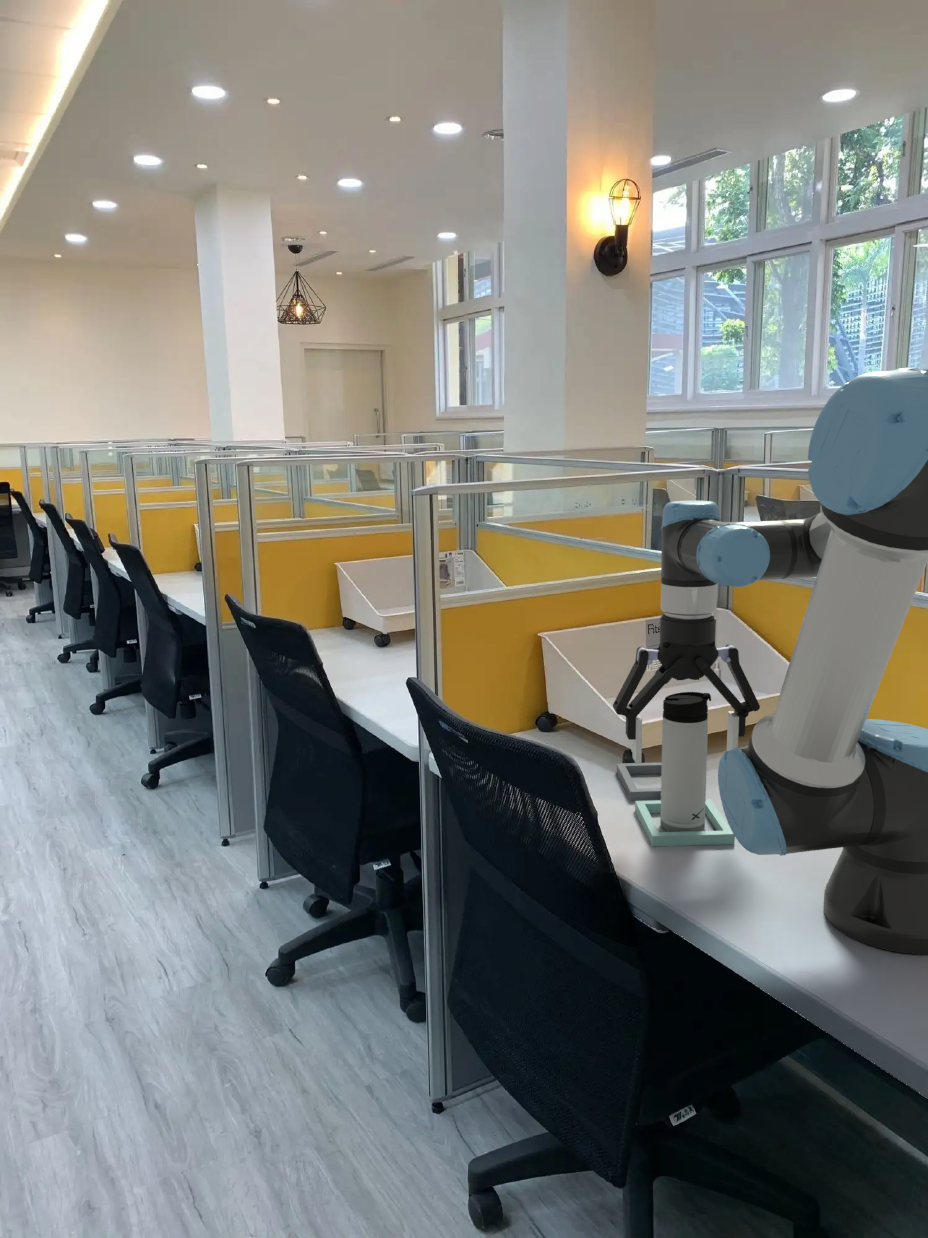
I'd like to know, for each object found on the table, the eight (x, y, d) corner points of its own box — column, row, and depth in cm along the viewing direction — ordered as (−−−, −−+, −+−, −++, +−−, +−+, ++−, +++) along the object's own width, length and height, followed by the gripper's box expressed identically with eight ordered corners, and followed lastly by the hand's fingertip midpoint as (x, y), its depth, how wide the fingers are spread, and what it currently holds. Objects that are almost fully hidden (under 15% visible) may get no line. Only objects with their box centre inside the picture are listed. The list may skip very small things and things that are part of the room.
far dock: (710, 808, 140) (710, 799, 140) (635, 810, 140) (635, 801, 140) (684, 770, 156) (684, 761, 156) (616, 772, 156) (616, 763, 156)
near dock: (734, 844, 128) (734, 834, 128) (652, 846, 128) (652, 836, 128) (710, 808, 140) (710, 799, 140) (635, 810, 140) (635, 801, 140)
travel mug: (708, 837, 131) (712, 701, 127) (660, 834, 132) (663, 699, 128) (706, 819, 137) (710, 688, 133) (660, 816, 138) (662, 687, 134)
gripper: (768, 606, 132) (762, 748, 136) (593, 610, 132) (593, 752, 136) (787, 616, 124) (780, 766, 129) (602, 621, 124) (601, 770, 128)
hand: (684, 759), depth 132 cm, fingers open, 13 cm apart
